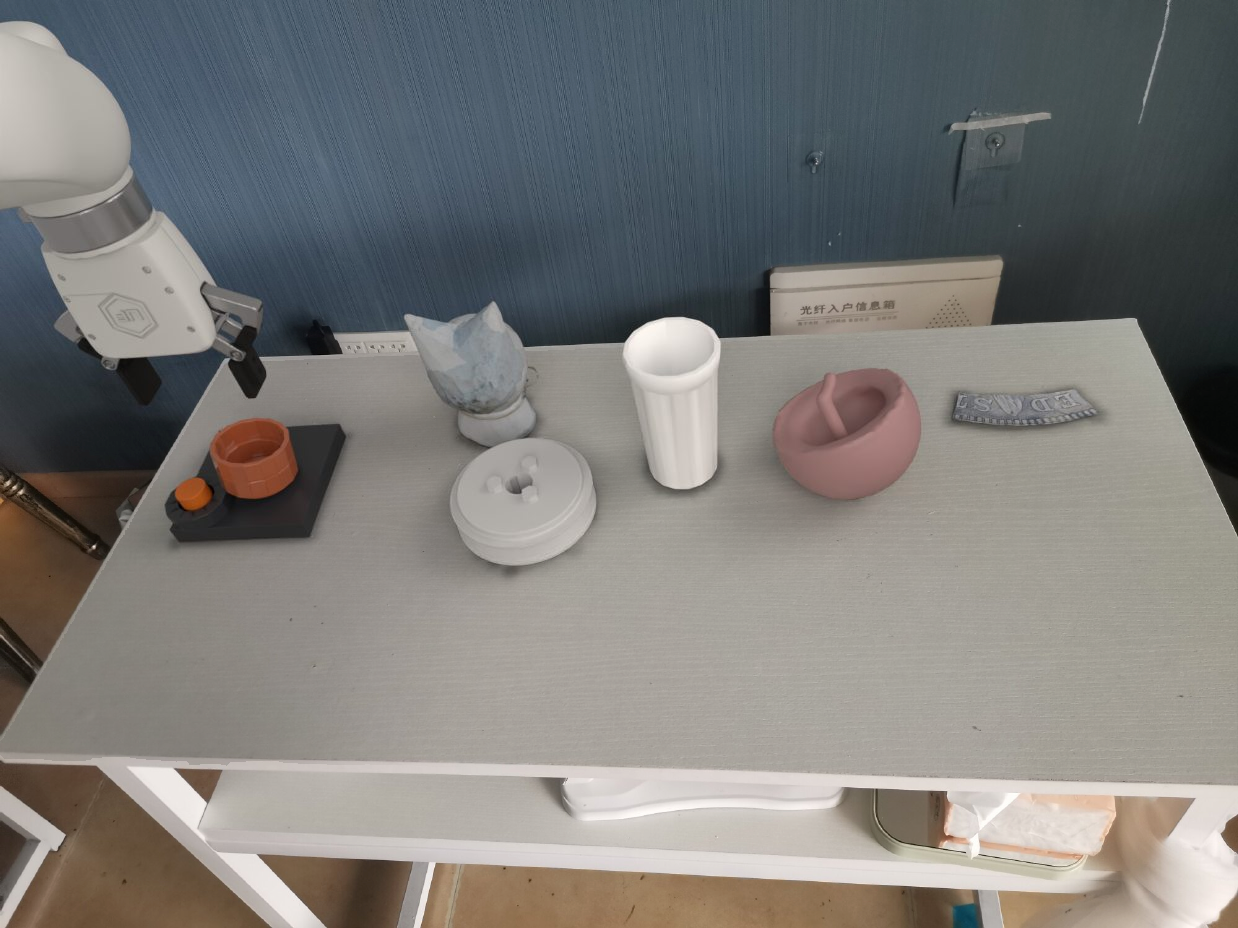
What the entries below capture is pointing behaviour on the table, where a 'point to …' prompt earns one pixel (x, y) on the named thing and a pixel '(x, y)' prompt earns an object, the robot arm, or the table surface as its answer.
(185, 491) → the button
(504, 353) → the figurine
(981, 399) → the coin fragment
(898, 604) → the table surface
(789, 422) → the mortar and pestle
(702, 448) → the cup
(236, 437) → the flower pot
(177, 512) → the scale
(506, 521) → the gray bolted wheel hub
